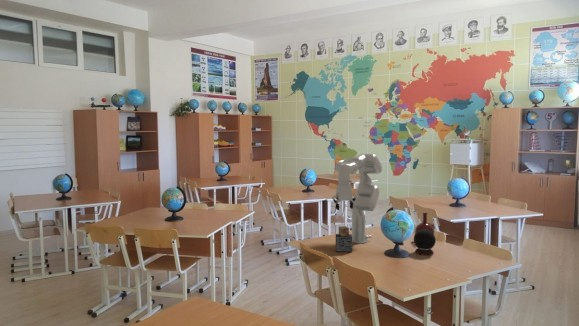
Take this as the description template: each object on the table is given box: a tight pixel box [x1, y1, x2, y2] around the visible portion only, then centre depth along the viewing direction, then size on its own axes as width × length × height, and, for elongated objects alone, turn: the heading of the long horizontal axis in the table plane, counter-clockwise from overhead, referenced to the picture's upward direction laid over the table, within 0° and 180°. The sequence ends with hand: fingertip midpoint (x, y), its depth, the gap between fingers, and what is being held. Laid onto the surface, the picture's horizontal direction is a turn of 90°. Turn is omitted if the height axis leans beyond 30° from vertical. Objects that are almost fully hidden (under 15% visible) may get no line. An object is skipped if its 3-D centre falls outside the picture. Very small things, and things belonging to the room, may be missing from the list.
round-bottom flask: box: [414, 212, 436, 235], centre depth 289 cm, size 13×13×20 cm
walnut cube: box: [338, 225, 350, 236], centre depth 268 cm, size 5×5×5 cm
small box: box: [335, 233, 353, 253], centre depth 268 cm, size 11×6×10 cm, turn 84°
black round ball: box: [413, 229, 437, 256], centre depth 262 cm, size 13×13×15 cm
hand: (344, 209), depth 268 cm, fingers open, 9 cm apart
